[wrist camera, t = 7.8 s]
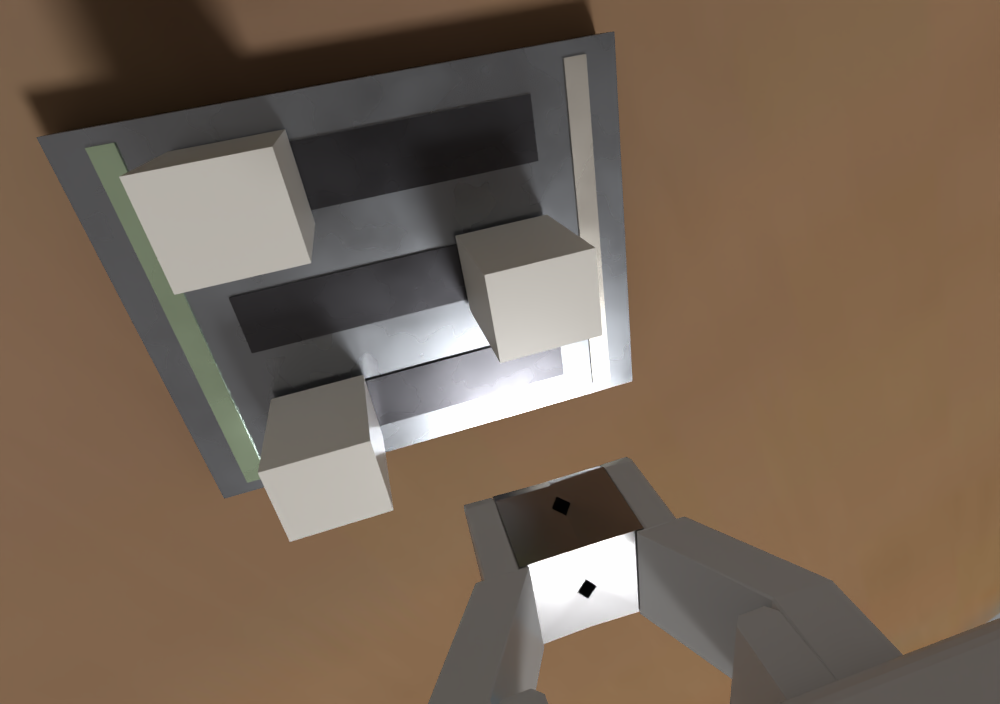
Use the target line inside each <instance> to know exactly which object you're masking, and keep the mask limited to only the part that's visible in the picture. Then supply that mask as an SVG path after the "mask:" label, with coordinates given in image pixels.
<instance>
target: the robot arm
mask: <svg viewBox="0 0 1000 704" xmlns="http://www.w3.org/2000/svg"><path fill="white" fill-rule="evenodd" d="M464 510H465V515H466V519H467V523H468V527H469V531H470V535H471V539H472V544H473V548H474V552H475V556H476V560H477V564H478V568H479V572H480V576H481V580H482V581H481V582H478V583H476V584H475V586H474V589H473V592H472V594H471V597H470V599H469V602H468V604H467V607H466V609H465V612H464V614H463V617H462V619H461V622H460V624H459V627H458V629H457V632H456V635H455V637H454V640H453V642H452V645H451V647H450V650H449V652H448V655H447V657H446V660H445V662H444V665H443V667H442V670H441V672H440V675H439V678H438V680H437V683H436V685H435V688H434V690H433V693H432V695H431V698H430V700H429V703H428V704H548V702H547V699H546V697H545V694H543V693H541V692H538V691H536V686H537V681H538V676H539V671H540V666H541V661H542V656H543V651H544V644H545V643H548V642H550V641H553V640H556V639H558V638H561V637H564V636H566V635H569V634H572V633H574V632H577V631H580V630H582V629H585V628H588V627H590V626H594V625H597V624H600V623H603V622H606V621H610V620H613V619H616V618H619V617H623V616H626V615H629V614H632V613H635V612H639V611H640V614H642V615H643V616H644V617H646V618H647V619H649V620H650V621H651V622H653V623H654V624H656V625H657V626H658V627H660V628H661V629H663V630H664V631H665V632H667V633H668V634H670V635H671V636H672V637H674V638H675V639H677V640H678V641H679V642H681V643H682V644H684V645H685V646H687V647H688V648H689V649H691V650H692V651H694V652H695V653H696V654H698V655H699V656H701V657H702V658H703V659H705V660H706V661H708V662H709V663H710V664H712V665H713V666H715V667H716V668H717V669H719V670H720V671H722V672H723V673H724V674H726V675H727V676H729V677H730V678H731V679H732V686H731V697H730V704H1000V618H999V619H996V620H994V621H991V622H988V623H986V624H983V625H980V626H978V627H975V628H973V629H970V630H967V631H965V632H962V633H960V634H957V635H954V636H952V637H949V638H947V639H944V640H941V641H939V642H936V643H934V644H931V645H928V646H926V647H923V648H920V649H918V650H915V651H913V652H910V653H907V654H905V655H902V654H901V652H900V651H899V650H898V649H897V648H896V647H895V646H894V645H893V644H892V643H891V642H890V641H889V640H888V639H887V638H886V637H885V636H884V635H883V634H882V633H881V632H880V630H879V629H878V628H877V627H876V626H875V625H874V624H873V623H872V622H871V621H870V620H869V619H868V618H867V617H866V616H865V615H864V614H863V613H862V612H861V611H860V610H859V609H858V607H857V606H856V605H855V604H854V603H853V602H852V601H851V600H850V599H849V598H848V597H847V596H846V595H845V594H844V593H843V592H842V591H841V590H840V589H839V588H838V587H837V585H836V584H835V583H834V582H833V581H832V580H829V579H827V578H825V577H822V576H820V575H818V574H816V573H813V572H811V571H809V570H806V569H804V568H802V567H799V566H797V565H795V564H793V563H790V562H788V561H786V560H783V559H781V558H779V557H776V556H774V555H772V554H770V553H767V552H765V551H763V550H760V549H758V548H756V547H753V546H751V545H749V544H747V543H744V542H742V541H740V540H737V539H735V538H733V537H730V536H728V535H726V534H724V533H721V532H719V531H717V530H714V529H712V528H710V527H707V526H705V525H703V524H701V523H698V522H696V521H694V520H691V519H689V518H687V517H682V518H678V519H676V518H675V516H674V515H673V514H672V512H671V511H670V510H669V508H668V507H667V506H666V504H665V503H664V502H663V500H662V499H661V498H660V496H659V495H658V494H657V493H656V491H655V490H654V489H653V487H652V486H651V485H650V483H649V482H648V481H647V479H646V478H645V477H644V475H643V474H642V473H641V471H640V470H639V469H638V467H637V466H636V465H635V463H634V462H633V461H632V460H631V459H630V458H628V457H625V458H621V459H618V460H615V461H612V462H609V463H606V464H602V465H600V466H597V467H594V468H591V469H587V470H584V471H581V472H577V473H574V474H571V475H568V476H564V477H561V478H558V479H555V480H551V481H548V482H545V483H542V484H538V485H534V486H531V487H527V488H523V489H520V490H516V491H512V492H509V493H505V494H501V495H498V496H494V497H493V499H492V498H489V499H485V500H482V501H478V502H474V503H470V504H467V505H464Z"/></svg>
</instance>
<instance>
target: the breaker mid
mask: <svg viewBox="0 0 1000 704" xmlns="http://www.w3.org/2000/svg"><path fill="white" fill-rule="evenodd" d="M455 237H456V242H457V247H458V252H459V257H460V262H461V267H462V272H463V277H464V282H465V287H466V292H467V297H468V302H469V307H470V311H471V313H472V315H473V316H474V318H475V320H476V322H477V323H478V325H479V327H480V329H481V330H482V332H483V334H484V336H485V337H486V339H487V341H488V343H489V344H490V346H491V348H492V350H493V351H494V353H495V355H496V357H497V358H498V360H499V362H500V363H503V362H506V361H510V360H514V359H517V358H521V357H525V356H528V355H532V354H536V353H539V352H543V351H547V350H551V349H554V348H558V347H562V346H565V345H569V344H573V343H576V342H580V341H584V340H587V339H591V338H595V337H598V336H602V335H603V334H602V322H601V309H600V296H599V283H598V270H597V257H596V248H595V247H594V246H592V245H591V244H589V243H588V242H586V241H585V240H584V239H582V238H581V237H579V236H578V235H576V234H575V233H573V232H572V231H570V230H569V229H567V228H566V227H564V226H563V225H562V224H560V223H559V222H557V221H556V220H554V219H553V218H551V217H550V216H548V215H542V216H538V217H534V218H529V219H525V220H521V221H517V222H512V223H508V224H504V225H499V226H495V227H491V228H486V229H482V230H478V231H474V232H469V233H465V234H461V235H456V236H455Z"/></svg>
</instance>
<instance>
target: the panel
mask: <svg viewBox="0 0 1000 704" xmlns="http://www.w3.org/2000/svg"><path fill="white" fill-rule="evenodd" d="M283 129H285V130H286V133H287V136H288V140H289V143H290V146H291V149H292V152H293V155H294V158H295V162H296V165H297V168H298V171H299V174H300V177H301V180H302V184H303V187H304V190H305V193H306V196H307V199H308V202H309V206H310V209H311V212H312V215H313V218H314V221H315V230H314V240H313V250H312V260H311V263H310V264H306V265H301V266H297V267H293V268H288V269H284V270H280V271H275V272H271V273H267V274H262V275H258V276H254V277H249V278H245V279H241V280H236V281H232V282H228V283H223V284H219V285H215V286H210V287H206V288H202V289H197V290H193V291H189V292H184V293H180V294H176V295H174V293H173V291H172V289H171V287H170V284H169V282H168V280H167V278H166V276H165V274H164V272H163V269H162V267H161V265H160V263H159V261H158V259H157V257H156V255H155V252H154V250H153V248H152V246H151V244H150V242H149V240H148V237H147V235H146V233H145V231H144V229H143V227H142V225H141V223H140V220H139V218H138V216H137V214H136V212H135V210H134V208H133V205H132V203H131V201H130V199H129V197H128V195H127V193H126V190H125V188H124V186H123V184H122V182H121V180H120V178H119V177H120V176H122V175H123V174H125V173H127V172H129V171H131V170H133V169H135V168H137V167H139V166H141V165H143V164H145V163H147V162H149V161H150V160H152V159H154V158H156V157H158V156H160V155H162V154H164V153H166V152H169V151H174V150H179V149H184V148H190V147H195V146H200V145H205V144H210V143H216V142H221V141H226V140H231V139H236V138H241V137H247V136H252V135H257V134H262V133H267V132H272V131H278V130H283ZM37 139H38V141H39V143H40V145H41V147H42V149H43V151H44V153H45V155H46V157H47V158H48V160H49V162H50V164H51V166H52V168H53V170H54V172H55V174H56V176H57V178H58V180H59V182H60V183H61V185H62V187H63V189H64V191H65V193H66V195H67V197H68V199H69V201H70V203H71V205H72V207H73V208H74V210H75V212H76V214H77V216H78V218H79V220H80V222H81V224H82V226H83V228H84V230H85V232H86V233H87V235H88V237H89V239H90V241H91V243H92V245H93V247H94V249H95V251H96V253H97V255H98V257H99V258H100V260H101V262H102V264H103V266H104V268H105V270H106V272H107V274H108V276H109V278H110V280H111V282H112V283H113V285H114V287H115V289H116V291H117V293H118V295H119V297H120V299H121V301H122V303H123V305H124V307H125V308H126V310H127V312H128V314H129V316H130V318H131V320H132V322H133V324H134V326H135V328H136V330H137V332H138V333H139V335H140V337H141V339H142V341H143V343H144V345H145V347H146V349H147V351H148V353H149V355H150V357H151V358H152V360H153V362H154V364H155V366H156V368H157V370H158V372H159V374H160V376H161V378H162V380H163V382H164V384H165V385H166V387H167V389H168V391H169V393H170V395H171V397H172V399H173V401H174V403H175V405H176V407H177V409H178V410H179V412H180V414H181V416H182V418H183V420H184V422H185V424H186V426H187V428H188V430H189V432H190V434H191V435H192V437H193V439H194V441H195V443H196V445H197V447H198V449H199V451H200V453H201V455H202V457H203V459H204V460H205V462H206V464H207V466H208V468H209V470H210V472H211V474H212V476H213V478H214V480H215V482H216V484H217V485H218V487H219V489H220V491H221V493H222V495H223V497H224V498H228V497H231V496H235V495H238V494H242V493H245V492H249V491H252V490H256V489H259V488H263V487H264V485H263V483H262V481H261V479H260V477H259V474H258V469H259V463H260V458H261V452H262V446H263V441H264V435H265V430H266V424H267V419H268V413H269V407H270V402H271V399H274V398H277V397H281V396H285V395H289V394H292V393H296V392H300V391H304V390H307V389H311V388H315V387H319V386H323V385H326V384H330V383H334V382H338V381H341V380H345V379H349V378H353V377H357V376H360V375H364V378H365V382H366V385H367V388H368V391H369V394H370V397H371V400H372V404H373V407H374V410H375V413H376V416H377V419H378V422H379V426H380V429H381V432H382V435H383V440H384V447H385V452H388V451H391V450H395V449H398V448H402V447H405V446H409V445H412V444H416V443H419V442H422V441H426V440H429V439H433V438H436V437H440V436H443V435H447V434H450V433H454V432H457V431H461V430H464V429H468V428H471V427H475V426H478V425H482V424H485V423H488V422H492V421H495V420H499V419H502V418H506V417H509V416H513V415H516V414H520V413H523V412H527V411H530V410H534V409H537V408H541V407H544V406H548V405H551V404H554V403H558V402H561V401H565V400H568V399H572V398H575V397H579V396H582V395H586V394H589V393H593V392H596V391H600V390H603V389H607V388H610V387H614V386H617V385H620V384H624V383H627V382H631V381H632V365H631V346H630V326H629V307H628V288H627V268H626V249H625V230H624V210H623V191H622V172H621V152H620V133H619V114H618V95H617V75H616V56H615V37H614V32H607V33H599V34H593V35H587V36H582V37H576V38H571V39H565V40H560V41H554V42H549V43H544V44H538V45H533V46H527V47H522V48H516V49H511V50H505V51H500V52H494V53H489V54H483V55H478V56H472V57H467V58H462V59H456V60H451V61H445V62H440V63H434V64H429V65H423V66H418V67H412V68H407V69H401V70H396V71H390V72H385V73H379V74H374V75H369V76H363V77H358V78H352V79H347V80H341V81H336V82H330V83H325V84H319V85H314V86H308V87H303V88H297V89H292V90H286V91H281V92H276V93H270V94H265V95H259V96H254V97H248V98H243V99H237V100H232V101H226V102H221V103H215V104H210V105H204V106H199V107H193V108H188V109H183V110H177V111H172V112H166V113H161V114H155V115H150V116H144V117H139V118H133V119H128V120H122V121H117V122H111V123H106V124H101V125H95V126H90V127H84V128H79V129H73V130H68V131H62V132H57V133H53V134H49V135H45V136H40V137H37ZM542 215H548V216H550V217H551V218H553V219H554V220H556V221H557V222H559V223H560V224H562V225H563V226H564V227H566V228H567V229H569V230H570V231H572V232H573V233H575V234H576V235H578V236H579V237H581V238H582V239H584V240H585V241H586V242H588V243H589V244H591V245H592V246H594V247H595V248H596V257H597V270H598V283H599V296H600V309H601V322H602V334H603V335H602V336H598V337H595V338H591V339H587V340H584V341H580V342H576V343H573V344H569V345H565V346H562V347H558V348H554V349H551V350H547V351H543V352H539V353H536V354H532V355H528V356H525V357H521V358H517V359H514V360H510V361H506V362H503V363H500V362H499V360H498V358H497V357H496V355H495V353H494V351H493V350H492V348H491V346H490V344H489V343H488V341H487V339H486V337H485V336H484V334H483V332H482V330H481V329H480V327H479V325H478V323H477V322H476V320H475V318H474V316H473V315H472V313H471V311H470V307H469V302H468V297H467V292H466V287H465V282H464V277H463V272H462V267H461V262H460V257H459V252H458V247H457V242H456V237H455V236H456V235H461V234H465V233H469V232H474V231H478V230H482V229H486V228H491V227H495V226H499V225H504V224H508V223H512V222H517V221H521V220H525V219H529V218H534V217H538V216H542Z"/></svg>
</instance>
